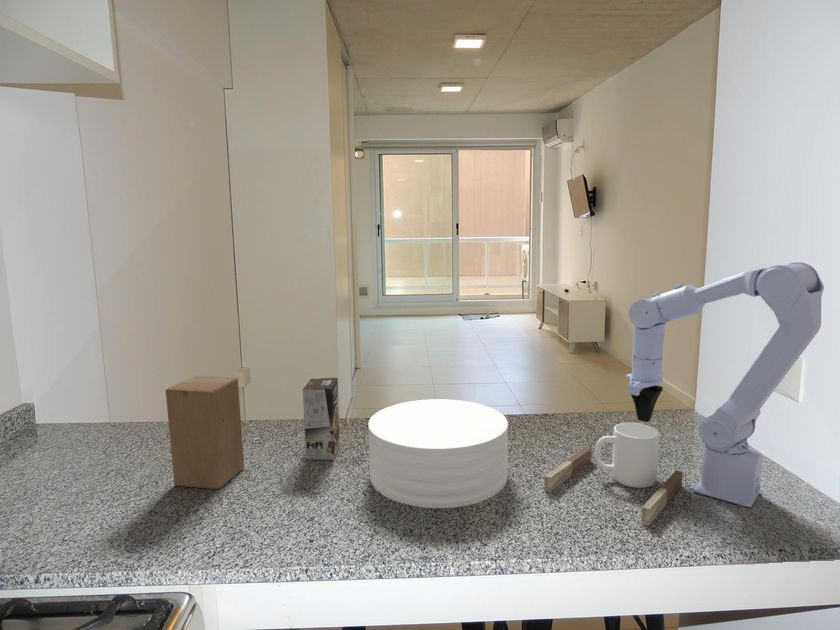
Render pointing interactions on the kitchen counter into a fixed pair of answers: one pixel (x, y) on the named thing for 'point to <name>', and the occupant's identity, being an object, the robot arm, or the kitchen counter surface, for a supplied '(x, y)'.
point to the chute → (648, 509)
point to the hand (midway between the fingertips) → (644, 420)
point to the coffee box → (321, 418)
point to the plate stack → (438, 452)
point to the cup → (632, 454)
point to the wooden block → (205, 431)
